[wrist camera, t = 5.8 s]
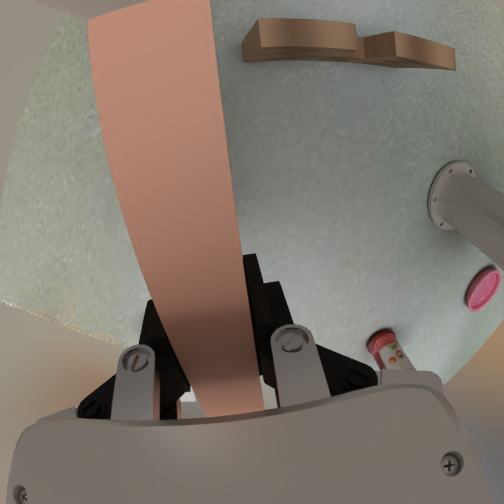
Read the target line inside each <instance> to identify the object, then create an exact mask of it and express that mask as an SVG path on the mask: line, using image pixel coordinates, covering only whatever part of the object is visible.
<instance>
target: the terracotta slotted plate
mask: <svg viewBox="0 0 504 504" xmlns="http://www.w3.org/2000/svg"><path fill="white" fill-rule="evenodd" d="M87 26H88V39H89V50H90V59H91V68H92V76H93V83H94V90H95V96H96V102H97V108H98V113H99V119H100V124H101V129H102V134H103V139H104V143H105V148H106V152H107V157H108V161H109V165H110V169H111V173H112V177H113V181H114V185H115V188H116V192H117V196H118V199H119V203H120V206H121V210H122V213H123V217H124V220H125V223H126V226H127V230H128V233H129V236H130V239H131V242H132V245H133V248H134V251H135V254H136V257H137V260H138V263H139V265H140V268H141V271H142V274H143V276H144V279H145V282H146V285H147V287H148V290H149V292H150V295H151V298H152V300H153V303H154V305H155V308H156V310H157V313H158V315H159V317H160V320H161V322H162V325H163V327H164V329H165V332H166V334H167V336H168V339H169V341H170V343H171V345H172V347H173V350H174V352H175V354H176V356H177V358H178V361H179V363H180V365H181V367H182V369H183V371H184V373H185V375H186V377H187V379H188V381H189V383H190V385H191V387H192V389H193V391H194V393H195V395H196V397H197V399H198V401H199V403H200V405H201V407H202V408H203V410H204V412H205V414H206V416H207V417H217V416H226V415H235V414H242V413H250V412H256V411H263V410H265V409H264V403H263V396H262V389H261V383H260V376H259V369H258V363H257V356H256V349H255V343H254V336H253V329H252V322H251V315H250V309H249V302H248V295H247V288H246V281H245V274H244V267H243V259H242V252H241V245H240V238H239V231H238V223H237V216H236V209H235V201H234V194H233V186H232V179H231V171H230V164H229V156H228V148H227V141H226V133H225V125H224V117H223V109H222V101H221V93H220V85H219V77H218V69H217V60H216V52H215V44H214V35H213V26H212V18H211V9H210V0H151V1H147V2H143V3H139V4H136V5H132V6H129V7H125V8H122V9H119V10H116V11H113V12H110V13H107V14H104V15H101V16H98V17H96V18H93V19H90V20H88V21H87Z"/></svg>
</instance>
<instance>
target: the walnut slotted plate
mask: <svg viewBox="0 0 504 504" xmlns="http://www.w3.org/2000/svg"><path fill="white" fill-rule="evenodd" d="M242 49H243V58H244V62H255V61H275V60H320V61H339V62H352V63H363V64H372V65H380V66H387V67H393V68H428V69H444V70H455V71H456V61H455V49H454V48H451V47H448V46H445V45H442V44H439V43H436V42H433V41H430V40H426V39H423V38H419V37H416V36H412V35H408V34H404V33H400V32H396V31H393V32H387V33H382V34H378V35H373V36H368V37H364V38H362V37H356V28H355V24H352V23H344V22H335V21H325V20H312V19H286V18H269V19H258V20H257V21H256V23H255V24H254V26H253V27H252V29H251V30H250V31H249V33H248V34H247V36H246V37H245V39H244V40H243V42H242Z"/></svg>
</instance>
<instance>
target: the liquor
mask: <svg viewBox="0 0 504 504" xmlns="http://www.w3.org/2000/svg"><path fill="white" fill-rule="evenodd" d="M395 337H396V336H395V333H394V332H392V331H382V332H379V333H377V334H376V335H375V336H374V337H373V338H372V339H371V341H370V343H369V345H368V351H369V352H370V353H372V355H373V357H374V359H375V361H376V363H377V365H378V367H379V369H380V371H382V369H393V370H414V371H417V370H416V369H415V368H414V366H413V365H412V363H411V362H410V360H409V359H408V357H407V355H406V354H405V352H404V351H403V349H402V348H401V346H400V345H399V343H398V342H397V340H396V338H395Z"/></svg>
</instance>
